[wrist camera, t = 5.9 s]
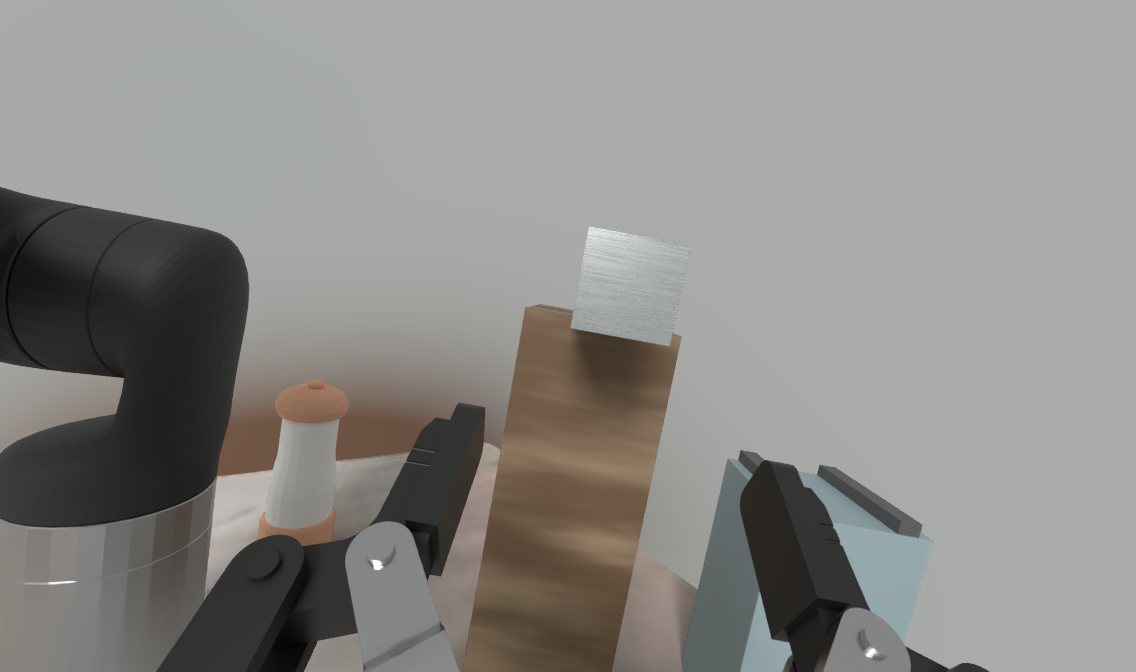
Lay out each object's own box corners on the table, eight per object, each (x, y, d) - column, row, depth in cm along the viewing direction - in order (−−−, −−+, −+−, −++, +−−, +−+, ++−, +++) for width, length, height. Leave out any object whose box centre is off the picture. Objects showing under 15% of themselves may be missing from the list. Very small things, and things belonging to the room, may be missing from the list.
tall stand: (481, 617, 43) (536, 303, 40) (588, 637, 43) (652, 324, 40) (435, 772, 29) (515, 306, 26) (595, 801, 29) (693, 339, 26)
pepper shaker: (239, 554, 45) (259, 379, 43) (288, 519, 52) (307, 368, 51) (304, 569, 45) (327, 393, 43) (344, 532, 52) (366, 380, 50)
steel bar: (573, 309, 43) (580, 269, 42) (612, 316, 43) (620, 276, 42) (570, 328, 17) (589, 226, 16) (669, 346, 17) (690, 245, 16)
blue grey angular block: (681, 662, 42) (729, 448, 40) (791, 682, 42) (845, 469, 40) (715, 776, 32) (781, 498, 30) (859, 803, 32) (936, 527, 30)
